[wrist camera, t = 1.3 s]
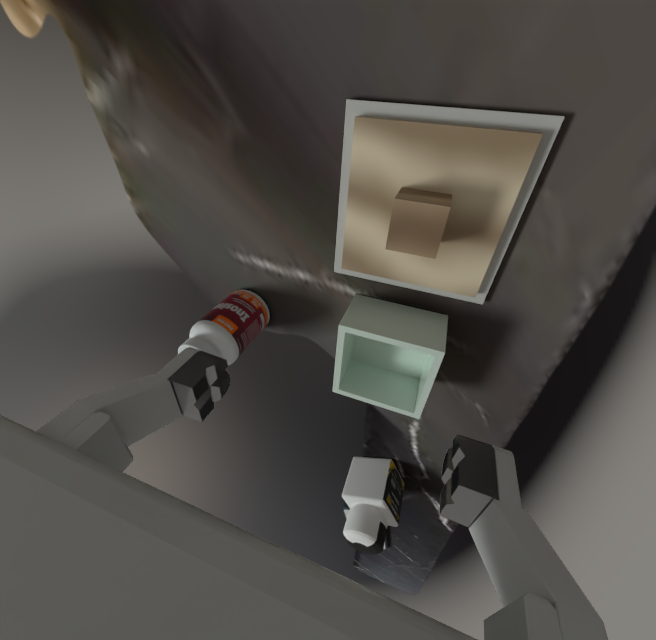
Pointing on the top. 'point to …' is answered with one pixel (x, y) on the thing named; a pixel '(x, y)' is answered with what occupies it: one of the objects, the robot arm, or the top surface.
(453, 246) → the lid
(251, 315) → the pill bottle
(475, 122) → the mat
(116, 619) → the robot arm
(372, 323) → the pale green storage bin
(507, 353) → the top surface
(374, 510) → the medicine bottle
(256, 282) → the top surface
